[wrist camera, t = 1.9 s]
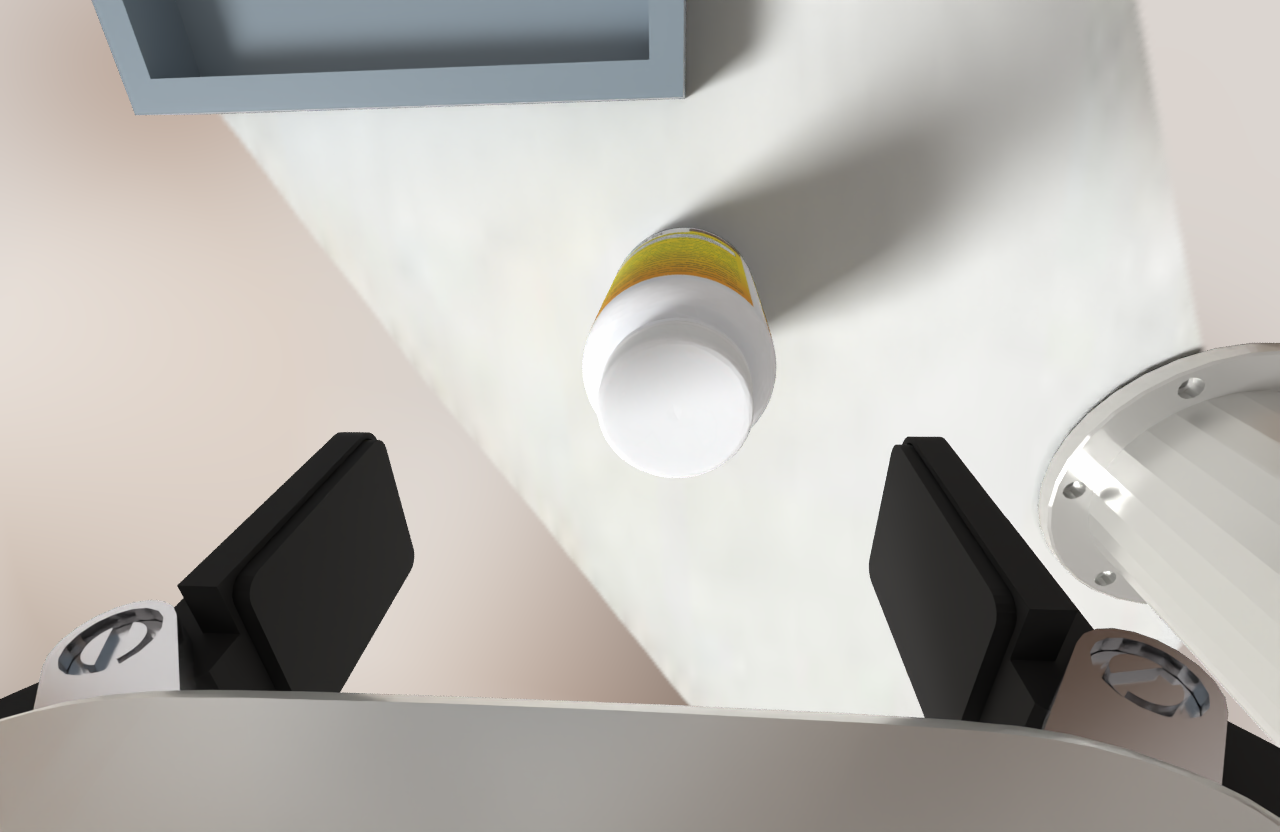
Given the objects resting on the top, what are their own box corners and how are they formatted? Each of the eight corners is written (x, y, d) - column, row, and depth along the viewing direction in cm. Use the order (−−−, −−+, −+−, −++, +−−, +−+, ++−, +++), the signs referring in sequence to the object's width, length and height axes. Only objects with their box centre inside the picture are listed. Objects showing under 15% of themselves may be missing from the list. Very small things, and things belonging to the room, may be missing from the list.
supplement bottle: (589, 266, 23) (520, 366, 14) (717, 197, 22) (730, 259, 13) (655, 381, 25) (631, 531, 16) (775, 325, 24) (823, 458, 15)
